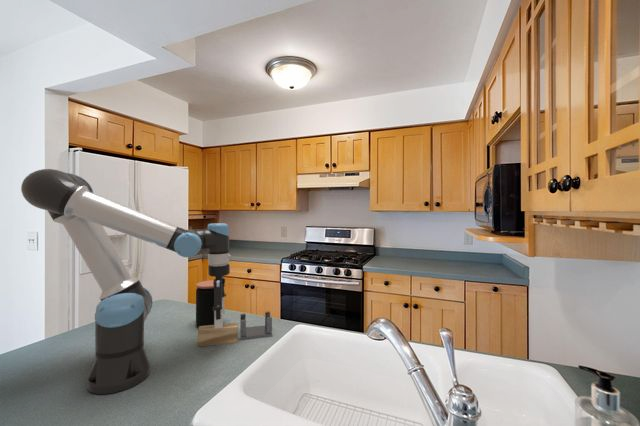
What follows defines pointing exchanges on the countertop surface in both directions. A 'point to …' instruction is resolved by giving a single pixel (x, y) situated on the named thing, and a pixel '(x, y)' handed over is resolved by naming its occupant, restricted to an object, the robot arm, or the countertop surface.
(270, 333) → the bracket
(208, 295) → the coffee jar
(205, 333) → the block
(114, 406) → the countertop surface
